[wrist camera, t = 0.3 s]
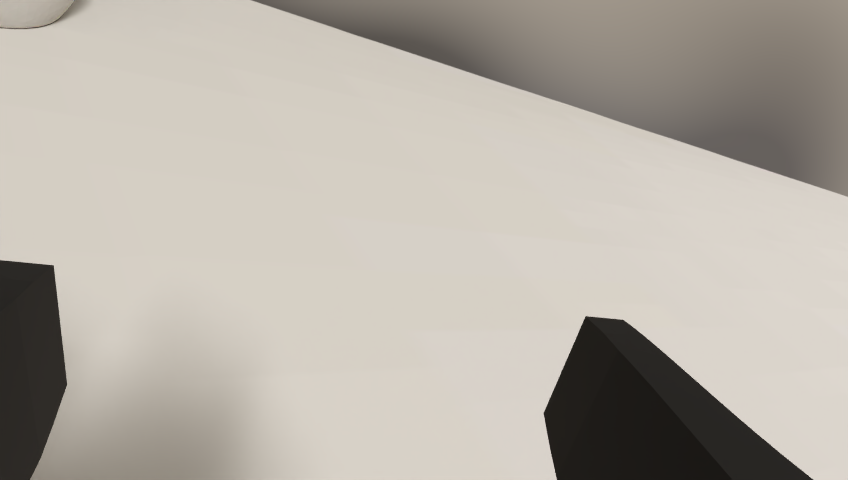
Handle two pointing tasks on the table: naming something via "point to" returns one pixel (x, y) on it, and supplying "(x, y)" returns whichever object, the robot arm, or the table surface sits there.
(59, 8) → the pitcher
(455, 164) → the table surface
